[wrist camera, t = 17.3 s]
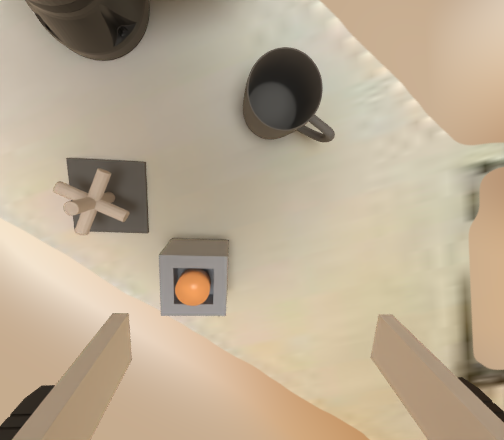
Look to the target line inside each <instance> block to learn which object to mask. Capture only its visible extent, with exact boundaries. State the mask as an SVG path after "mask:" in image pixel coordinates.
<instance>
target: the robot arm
mask: <svg viewBox="0 0 504 440" xmlns="http://www.w3.org/2000/svg"><path fill="white" fill-rule="evenodd" d="M25 1H26V2H27V3H28V5H29V6H30V8H31V9H32V10H33V11H34V13H35V15H36V16H37V18H38V19H39V21H40V22H41V23H42V25H43V26H44V27H45V28H46V30H47V31H48V32H49V33H50V34H51V35H52V36H53V37H54V38H56V39H57V40H58V41H59V42H61V43H62V44H63V45H65V46H66V47H68V48H69V49H71V50H72V51H74V52H76V53H77V54H79V55H82V56H84V57H87V58H90V59H95V60H111V59H115V58H119V57H121V56H123V55H125V54H127V53H128V52H130V51H131V50H132V49H133V48H134V47H135V46H136V45H137V44H138V43H139V41H140V40H141V38H142V37H143V35H144V33H145V30H146V27H147V24H148V19H149V0H25ZM371 359H372V360H373V362H374V363H375V364H376V366H377V367H378V369H379V370H380V372H381V373H382V374H383V376H384V377H385V379H386V380H387V382H388V383H389V385H390V386H391V387H392V389H393V390H394V392H395V393H396V395H397V396H398V397H399V399H400V400H401V402H402V403H403V405H404V406H405V408H406V409H407V410H408V412H409V413H410V415H411V416H412V418H413V419H414V420H415V422H416V423H417V425H418V426H419V428H420V429H421V430H422V432H423V433H424V435H425V436H426V438H427V439H428V440H504V411H503V410H501V409H500V408H499V407H498V406H497V405H496V404H495V403H493V402H492V400H491V399H490V398H489V397H487V396H486V395H485V394H484V393H483V392H482V391H481V390H480V389H479V388H477V387H476V386H474V385H473V384H471V383H470V382H468V381H467V380H465V379H464V378H462V377H459V378H457V377H456V376H455V375H454V374H453V373H452V372H451V371H450V370H449V369H448V368H447V367H446V366H445V365H444V364H443V363H442V362H441V361H440V360H439V359H438V358H437V357H435V356H434V355H433V354H432V353H431V352H430V351H429V350H428V349H427V348H426V347H425V346H424V345H423V344H422V343H421V342H420V341H419V340H418V339H417V338H416V337H415V336H414V335H413V334H412V333H411V332H410V331H409V330H408V329H407V328H406V327H405V326H403V325H402V324H401V323H400V322H399V321H398V320H397V319H396V318H395V317H394V316H393V315H379V316H378V322H377V327H376V332H375V337H374V343H373V348H372V353H371ZM131 360H132V356H131V341H130V326H129V314H128V313H113V314H112V315H111V316H110V317H109V319H108V320H107V321H106V323H105V324H104V325H103V326H102V327H101V329H100V330H99V331H98V332H97V334H96V335H95V336H94V337H93V339H92V340H91V341H90V342H89V344H88V345H87V346H86V347H85V349H84V350H83V351H82V353H81V354H80V355H79V356H78V358H77V359H76V360H75V361H74V363H73V364H72V365H71V366H70V368H69V369H68V370H67V371H66V373H65V374H64V375H63V376H62V377H61V379H60V380H59V381H58V383H57V384H56V385H52V386H51V385H50V386H41V387H39V388H38V389H37V390H35V391H34V392H33V393H31V394H30V395H29V396H27V397H26V398H25V399H24V400H23V401H22V402H21V403H20V404H19V405H18V407H17V408H16V409H15V410H14V411H13V412H12V413H11V415H10V417H8V418H7V419H6V420H5V421H4V422H3V423H2V425H1V426H0V440H91V438H92V436H93V434H94V432H95V430H96V428H97V426H98V425H99V422H100V420H101V419H102V417H103V415H104V413H105V411H106V409H107V407H108V405H109V403H110V401H111V399H112V397H113V395H114V393H115V391H116V390H117V388H118V386H119V384H120V381H121V380H122V378H123V376H124V374H125V372H126V370H127V368H128V366H129V364H130V362H131Z"/></svg>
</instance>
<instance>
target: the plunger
mask: <svg viewBox="0 0 504 440" xmlns="http://www.w3.org/2000/svg"><path fill="white" fill-rule="evenodd" d="M210 287H211V279H210V277H209V275H208V274H207V273H206V272H205V271H204V270H202V269H199V268H190V269H187V270H185V271H184V272H183V273H182V274H181V276H180V278H179V280H178V282H177V284H176V287H175V294H176V296H177V298H178V299H179V301H180V302H182V303H183V304H186V305H189V306H196V305H200V304H202V303H203V302H204V301H205V300H206V299H207V298H208V296H209V292H210Z"/></svg>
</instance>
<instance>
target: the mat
mask: <svg viewBox="0 0 504 440" xmlns="http://www.w3.org/2000/svg"><path fill="white" fill-rule="evenodd" d="M66 159H67V167H68V176H69V185H70V186H72V187H75V188H77V189H79V190H82V191H84V192H86V193H89V190H90V187H91V185H92V182H93V179H94V177H95V174H96V171H97V169H98V168H99V169H103V170H106V171H108V172H110V173H111V176H110V179H109V182H108V184H107V187H106V189H105V192H104V193H106V192H111V193H113V194H114V195H115V200H114V202H112V203H111V204H113V205H116V206H118V207H120V208H122V209H125V210H127V211H129V216H128V218H127V219H126V221H125V222H121V221H119V220H117V219H115V218H112V217H110V216H108V215H105V214H103V213H101V212H98V211H97V213H96V216H95V218H94V221H93V223H92V226H91V229H90V231H93V232H126V233H148V232H149V228H148V205H147V182H146V162H135V161H115V160H96V159H77V158H66ZM71 201H73V200H71ZM80 214H81V213H80ZM80 214H77V215H73V220H74V229H75V228H76V225H77V222H78V220H79V217H80Z"/></svg>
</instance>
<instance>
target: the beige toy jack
mask: <svg viewBox="0 0 504 440" xmlns="http://www.w3.org/2000/svg"><path fill="white" fill-rule="evenodd" d="M110 176H111V173H110V172H108V171H106V170H103V169H99V168H98V169H97V171H96V174H95V177H94V179H93V182H92V185H91V187H90V190H89V193H86V192H84V191H82V190H79V189H77V188H75V187H72V186H70V185H68V184H66V183H63V182H61V181H60V182H57V183H56V184H55V186H54V188H53V191H54V193H57V194H59V195H61V196H64V197H66V198H68V199H71V200H73V201H69V202H66V203H65V204H64V207H63V209H64V211H65V213H66V214H68V215H71V216H73V215H77V214H80V213H81V214H80V217H79V220H78V222H77V225H76V228H75V230H74V231H75V233H77V234H80V235H88V234H89V231H90V229H91V226H92V223H93V221H94V218H95V216H96V213H97V211H98V212H101V213H103V214H105V215H108V216H110V217H112V218H115V219H117V220H119V221H121V222H125V221H126V219H127V218H128V216H129V211H127V210H125V209H122V208H120V207H118V206H116V205H113V204H111V203H112V202H114V200H115V195H114V194H113V193H111V192H106V193H104V192H105V189H106V187H107V184H108V182H109V179H110Z"/></svg>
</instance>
